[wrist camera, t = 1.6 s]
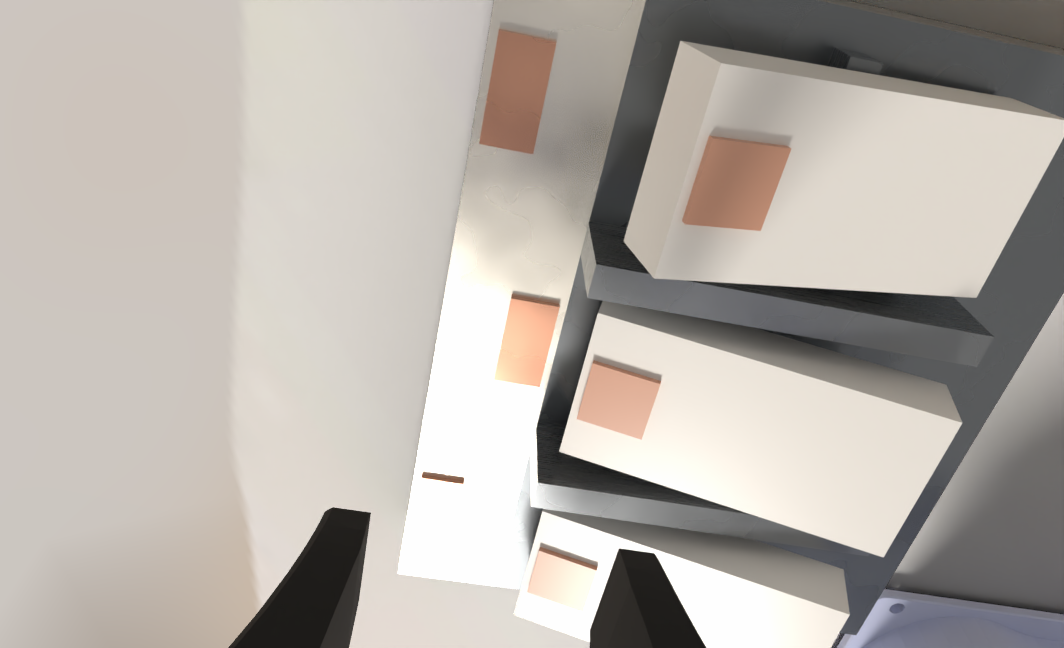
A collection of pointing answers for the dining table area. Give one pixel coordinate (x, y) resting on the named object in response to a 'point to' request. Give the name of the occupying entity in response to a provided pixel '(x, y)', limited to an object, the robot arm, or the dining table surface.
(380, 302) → the dining table surface
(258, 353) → the dining table surface
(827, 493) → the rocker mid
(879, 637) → the robot arm
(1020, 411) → the dining table surface
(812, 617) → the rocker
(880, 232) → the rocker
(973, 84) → the switch panel
